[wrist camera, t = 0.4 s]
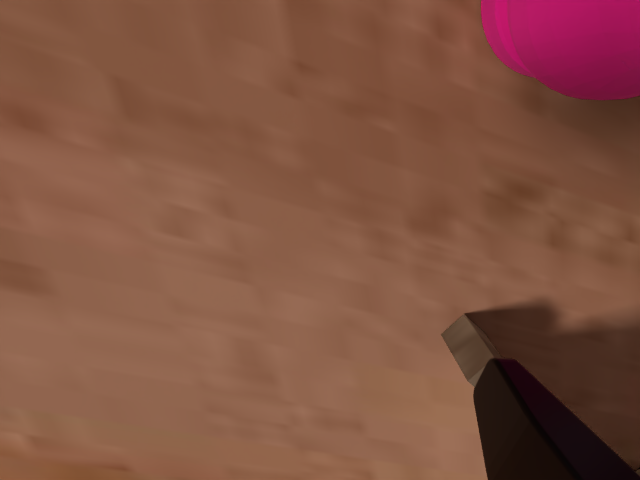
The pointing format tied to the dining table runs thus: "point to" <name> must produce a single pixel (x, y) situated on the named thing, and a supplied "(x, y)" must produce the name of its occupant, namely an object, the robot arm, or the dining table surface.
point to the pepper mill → (569, 44)
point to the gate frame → (471, 349)
